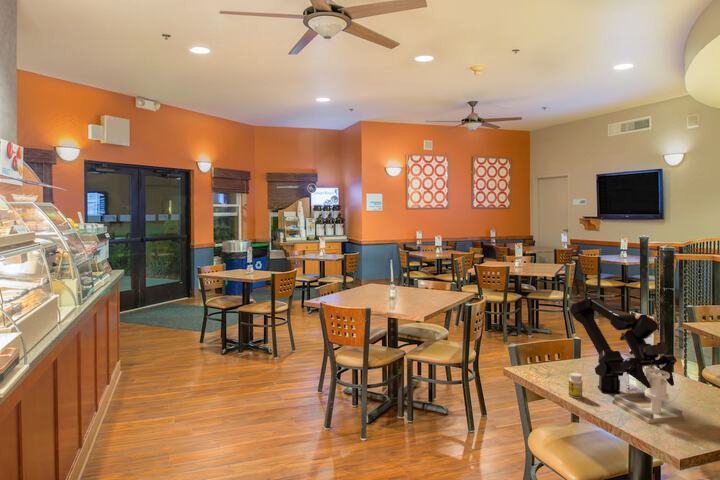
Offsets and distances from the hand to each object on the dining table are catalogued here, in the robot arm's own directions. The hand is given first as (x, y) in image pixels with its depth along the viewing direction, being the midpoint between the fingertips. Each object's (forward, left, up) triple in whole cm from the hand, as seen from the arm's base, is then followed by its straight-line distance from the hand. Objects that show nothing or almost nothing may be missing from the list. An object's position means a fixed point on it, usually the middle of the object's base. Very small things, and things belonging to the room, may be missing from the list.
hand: (661, 386), depth 166 cm
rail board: (-2, +6, -11) cm, 12 cm away
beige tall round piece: (-1, +2, -10) cm, 10 cm away
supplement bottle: (-24, +16, -11) cm, 30 cm away
